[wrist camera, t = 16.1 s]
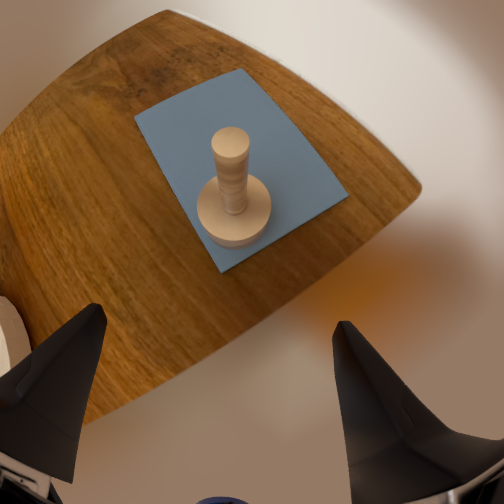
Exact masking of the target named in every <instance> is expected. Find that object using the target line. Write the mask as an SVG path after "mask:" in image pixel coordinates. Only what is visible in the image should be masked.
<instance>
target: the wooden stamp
mask: <svg viewBox="0 0 504 504" xmlns="http://www.w3.org/2000/svg"><path fill="white" fill-rule="evenodd" d="M211 145H212V151H213V157H214V163H215V169H216V174H217V176H215V177H214V178H212V179H211V180H210V181H208V182H207V183H206V185H205V186H204V187H203V189H202V190H201V192H200V194H199V197H198V201H197V212H198V216H199V219H200V221H201V223H202V225H203V228H204V230H205V232H206V234H207V235H208V237H209V238H210V239H211V240H212V241H213V242H214V243H215V244H217V245H218V246H220V247H222V248H225V249H230V250H239V249H244V248H247V247H249V246H251V245H253V244H254V243H256V242H257V241H258V240H259V239H260V238H261V236H262V235H263V233H264V231H265V229H266V226H267V223H268V220H269V217H270V213H271V198H270V195H269V192H268V190H267V188H266V187H265V186H264V184H263V183H262V182H261V181H260V180H258V179H257V178H256V177H254V176H252V175H250V174H248V167H249V151H250V138H249V136H248V134H247V133H246V132H245V131H244V130H242V129H240V128H237V127H225V128H222V129H220V130H219V131H217V132H216V133H215V134H214V136H213V138H212V141H211Z"/></svg>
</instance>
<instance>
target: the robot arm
mask: <svg viewBox="0 0 504 504" xmlns="http://www.w3.org/2000/svg"><path fill="white" fill-rule="evenodd" d="M106 326H107V318H106V315H105V313H104V310H103V308H102V306H101V305H100V304H96V303H91V304H89V305H88V306H87V307H85V308H84V309H83V310H82V311H80V312H79V313H78V314H77V315H75V316H74V317H73V318H72V319H70V320H69V321H68V322H67V323H65V324H64V325H63V326H62V327H60V328H59V329H58V330H57V331H56V332H54V333H53V334H52V335H51V336H50V337H48V338H47V339H46V340H45V341H44V342H43V343H41V344H40V345H39V346H38V347H37V348H36V349H34V350H33V351H32V353H30V354H29V355H27V356H26V357H25V358H24V359H23V360H22V361H20V362H19V363H18V364H17V365H16V366H14V367H13V368H12V369H10V370H9V371H8V372H7V373H5V374H4V375H3V376H1V377H0V504H63V503H62V501H61V499H60V497H59V496H58V494H57V492H56V490H55V488H54V487H53V485H52V483H51V477H54V478H57V479H59V480H62V481H65V482H68V483H70V484H72V482H73V476H74V468H75V461H76V455H77V449H78V442H79V438H80V432H81V428H82V423H83V418H84V414H85V410H86V405H87V401H88V397H89V393H90V390H91V386H92V382H93V379H94V375H95V372H96V368H97V365H98V361H99V358H100V354H101V349H102V344H103V339H104V335H105V330H106ZM332 343H333V357H334V372H335V380H336V386H337V392H338V397H339V404H340V410H341V416H342V422H343V429H344V437H345V444H346V452H347V460H348V468H349V478H350V488H351V499H352V504H504V438H503V439H501V440H489V439H484V438H479V437H475V436H471V435H466V434H462V433H458V432H455V431H453V430H451V429H450V428H448V427H447V426H445V424H444V423H442V422H441V421H440V420H439V419H438V418H437V417H436V416H435V415H434V414H433V413H432V412H431V411H430V410H429V409H428V408H427V407H426V406H425V405H424V404H423V403H422V402H421V401H420V400H419V399H418V398H417V397H416V396H415V395H414V393H412V391H411V390H410V389H409V388H408V387H407V385H405V383H404V382H403V381H402V380H401V378H400V377H399V376H398V375H397V374H396V373H395V372H394V370H393V369H392V368H391V367H390V366H389V365H388V363H387V362H386V361H385V360H384V359H383V358H382V357H381V355H379V353H378V352H377V351H376V350H375V349H374V348H373V346H372V345H371V344H370V343H369V342H368V341H367V340H366V339H365V337H364V336H363V335H362V334H361V333H360V332H359V331H358V330H357V328H356V327H355V326H354V325H353V324H352V323H351V322H350V321H339V322H338V324H337V327H336V329H335V331H334V334H333V337H332ZM222 504H235V503H234V502H231V501H229V502H225V503H222Z"/></svg>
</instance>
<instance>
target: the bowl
mask: <svg viewBox="0 0 504 504" xmlns="http://www.w3.org/2000/svg"><path fill="white" fill-rule="evenodd" d="M30 353H32V351H31V347H30V342H29V337H28V334H27V332H26V329H25V327H24V324H23V321H22V318H21V317H20V315H19V313H18V312H17V310H16V308H15V307H14V305H13V304H12V303H11V302H10V301H9V300H8V299H7V298H6V297H4V296H1V295H0V377H1V376H3V375H4V374H5V373H7V372H8V371H9V370H10V369H12V368H13V367H14V366H16V365H17V364H18V363H19V362H20V361H22V360H23V359H24V358H25V357H26V356H27V355H29V354H30Z"/></svg>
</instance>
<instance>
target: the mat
mask: <svg viewBox="0 0 504 504" xmlns="http://www.w3.org/2000/svg"><path fill="white" fill-rule="evenodd" d="M134 118H135V120H136V122H137V124H138V126H139V128H140V130H141V132H142V134H143V136H144V138H145V140H146V141H147V143H148V145H149V147H150V149H151V151H152V153H153V155H154V157H155V158H156V160H157V162H158V164H159V166H160V168H161V170H162V171H163V173H164V175H165V177H166V179H167V180H168V182H169V184H170V186H171V188H172V190H173V191H174V193H175V195H176V197H177V198H178V200H179V202H180V204H181V206H182V207H183V209H184V211H185V213H186V214H187V216H188V218H189V220H190V221H191V223H192V225H193V227H194V228H195V230H196V232H197V233H198V235H199V237H200V239H201V240H202V242H203V244H204V245H205V247H206V249H207V251H208V252H209V254H210V256H211V257H212V259H213V261H214V262H215V264H216V266H217V267H218V269H219V271H220V272H221V273H224V272H226V271H227V270H229V269H230V268H232V267H234V266H235V265H237V264H239V263H240V262H242V261H244V260H245V259H247V258H249V257H250V256H252V255H254V254H255V253H257V252H258V251H260V250H262V249H263V248H265V247H267V246H268V245H270V244H272V243H273V242H275V241H277V240H278V239H280V238H282V237H283V236H285V235H286V234H288V233H290V232H291V231H293V230H295V229H296V228H298V227H300V226H301V225H303V224H305V223H306V222H308V221H309V220H311V219H313V218H314V217H316V216H318V215H319V214H321V213H323V212H324V211H326V210H328V209H329V208H331V207H332V206H334V205H336V204H337V203H339V202H341V201H342V200H344V199H346V198H347V197H348V196H349V194H348V193H347V192H346V190H345V189H344V187H343V186H342V185H341V183H340V182H339V180H338V179H337V178H336V176H335V175H334V174H333V172H332V171H331V170H330V168H329V167H328V166H327V164H326V163H325V162H324V160H323V159H322V158H321V156H320V155H319V154H318V153H317V151H316V150H315V149H314V148H313V146H312V145H311V144H310V143H309V141H308V140H307V139H306V138H305V137H304V135H303V134H302V133H301V132H300V131H299V129H298V128H297V127H296V126H295V125H294V123H293V122H292V121H291V120H290V119H289V118H288V117H287V115H286V114H285V113H284V112H283V111H282V110H281V109H280V107H279V106H278V105H277V104H276V103H275V102H274V101H273V100H272V99H271V98H270V97H269V96H268V94H267V93H266V92H265V91H264V90H263V89H262V88H261V87H260V86H259V85H258V84H257V83H256V82H255V81H254V80H253V79H252V78H251V77H250V76H249V75H248V74H247V73H246V72H245V71H244V70H243V69H242V68H240V69H237V70H234V71H232V72H229V73H226V74H224V75H221V76H218V77H216V78H213V79H211V80H208V81H206V82H204V83H201V84H199V85H196V86H194V87H192V88H190V89H187V90H185V91H183V92H181V93H179V94H177V95H175V96H173V97H171V98H168V99H166V100H164V101H163V102H161V103H159V104H157V105H155V106H153V107H151V108H149V109H147V110H145V111H144V112H142V113H140V114H138V115H137V116H135V117H134ZM225 127H237V128H240V129H242V130H244V131H245V132H246V133H247V134H248V136H249V138H250V151H249V167H248V174H250V175H252V176H254V177H256V178H257V179H258V180H260V181H261V182H262V183H263V184H264V186H265V187H266V188H267V190H268V192H269V195H270V198H271V213H270V217H269V220H268V223H267V226H266V229H265V231H264V233H263V235H262V236H261V238H260V239H259V240H258V241H257V242H256V243H254V244H253V245H251V246H249V247H247V248H244V249H239V250H230V249H225V248H222V247H220V246H218V245H217V244H215V243H214V242H213V241H212V240H211V239H210V238H209V237H208V235H207V234H206V232H205V230H204V228H203V225H202V223H201V221H200V219H199V216H198V212H197V201H198V197H199V194H200V192H201V190H202V189H203V187H204V186H205V185H206V183H207V182H208V181H210V180H211V179H212V178H214V177H215V176H217V174H216V169H215V163H214V157H213V151H212V145H211V141H212V138H213V136H214V134H215V133H216V132H217V131H219V130H220V129H222V128H225Z"/></svg>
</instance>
